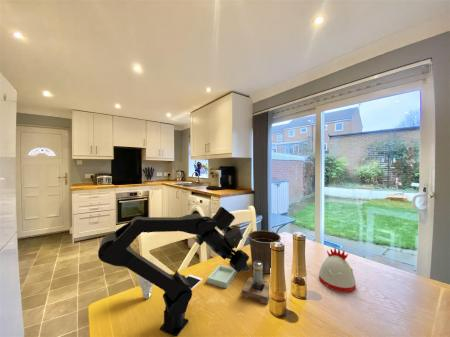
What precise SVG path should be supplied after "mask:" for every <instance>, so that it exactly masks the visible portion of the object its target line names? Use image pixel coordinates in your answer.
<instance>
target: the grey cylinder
mask: <svg viewBox="0 0 450 337" xmlns="http://www.w3.org/2000/svg"><path fill="white" fill-rule="evenodd" d="M252 269H253V270H252V271H253V273H252V274H253V276H252V278H253V289H255V290H259V291H263V290H262V280H263V273H262V269H263V264H262V262H261V261H254V262H253V267H252Z"/></svg>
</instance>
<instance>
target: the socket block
mask: <svg viewBox="0 0 450 337" xmlns="http://www.w3.org/2000/svg"><path fill="white" fill-rule="evenodd" d="M269 282H270V281H267V280H264V279H262V291H259V290H255V289H253V276H252V277H251V276H249V277H248V279H247V281H246V282H245V284H244V285H243V288H242V289H241V297H242V298H246V299H249V300H251V301H255V302H259V303H263V304H266V305H268V304H269V301H270V298H269Z"/></svg>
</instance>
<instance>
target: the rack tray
mask: <svg viewBox="0 0 450 337" xmlns="http://www.w3.org/2000/svg"><path fill="white" fill-rule="evenodd" d="M237 273H238V272H237V271H236V270H234V269H233V268H232V267H231V266H226V265H222V264H219V265H218V266H217V267H216V268H214V270H212V272H211V273H210V275H208V276H207V280H206V281H207V282H206V283H207V284H210V285H213V286H217V287H219V288H224V289H227V288H228V287H229V286H230V284H231V283H232V282H233V280H234V278H235V277H236V276H237V275H238V274H237Z"/></svg>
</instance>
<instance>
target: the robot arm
mask: <svg viewBox="0 0 450 337" xmlns="http://www.w3.org/2000/svg"><path fill="white" fill-rule="evenodd" d="M234 220H236V217H235V215H234V214H232V213H231V212H229V210H227V209H225V207H223V206H220V207H219V208H218V210H216V212H215V213H214V215H213V216H212V217H210V216H205V215H204V216H202V214H200V213H192V214H191V213H190V214H185V215H182V216H180V217H177V216H176V217H171V216H166V217H165V216H163V217H161V216H160V217H159V216H158V217H155V216H154V217H153V216H150V217H149V216H146V217H145V216H144V217H143V216H141V215H140V216H134V217H133V218H132V219H131V220H130V221H128V222H127V223H125V224H124V225H122V226H121V227H119V228H118V229H116V230H115V232H112V233H109V234H108V233H107V234H106V235H105V236H103V238H102V239H101V241H100V244H99V248H98V251H97V256H98V259H99V260H100V261H101V262H102V263H105V264H108V265H110V266H114V267H120V268H121V267H124V268H126V269H128V270H129V271H131V272H133V273H135V274H136V275H138V276H141V277H143V278H144V279H146V280H148V281H149V282H151V283H152V284H153V286H156V287H157V288H160V290H163V292H164V293H163V294H162V299H163V301H164V304H165V307H164V310H163V324H162V325H160V326H159V330H160V331H162V332H164V333H167V334H168V335H171V336H173V337H178V335H179V334H180V333H181V332H182V330H183V329H184V328H185V327H186V325H188V324H189V319H187V318H186V312H187V309H188V307H189V303H190V301H191V299H192V297H193V289H192V290H191V288H190V284H189V283H188V281H187V279H186V277H187V276H185V275H184V274H180V273H179V272H178V270H176V271H175V272H174V273H173V274H172V273H171V274H170V273H169V272H167V271H165V270H164V269H162V268H161V267H159V266H157V265H156V264H154V263H153V262H151V261H150V260H148V259H147V258H145V257H144V256H142V255H141V254H140V253H138V252H136V251H135V250H134V249H133V248H132V246H131V244H132V243H133V242H134V241H135V240H136V239H137V238H138V236H140V235H141V234H142V233H164V232H165V233H166V232H168V233H169V232H170V233H171V232H183V233H186V234H190V235H195V237H196V238H195V242H196V243H197V244H198V246H202V245H203V243H205V244H206V245H207V246H208V247H209V248H210V249H211V251H213V253H215V254H216V255H217V256H219V257H220V258H222V259H223V261H224V260H226V259H228V260H229V264H228V265H229V267H231V268H233V269H234V270H236V271H237V273H241V272H249V271H250V267H249V265H248V263H247V262H248V261H249V259H250V255H248V253H246V252H245V251H243V250H242V249H237V250H235V248H236V247H237V245H236V244H237V243H238V242H240V241H241V240H243V239H244V236H243V233H242V231H241V229H239V228H237V227H234V226H232V227H230V226H231V224H232V223H233V222H234ZM217 229H218V230H219V231H218V230H217ZM223 231H224V235H223V234H222V233H221V232H223Z"/></svg>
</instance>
